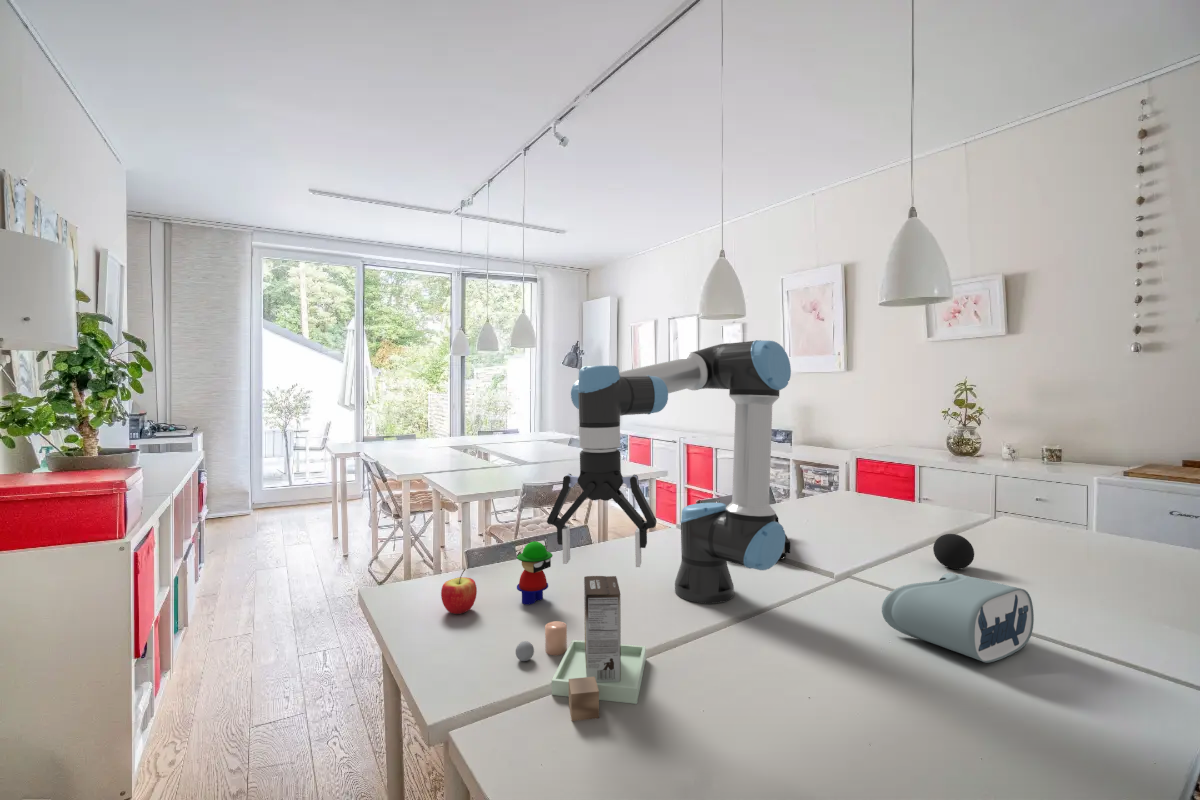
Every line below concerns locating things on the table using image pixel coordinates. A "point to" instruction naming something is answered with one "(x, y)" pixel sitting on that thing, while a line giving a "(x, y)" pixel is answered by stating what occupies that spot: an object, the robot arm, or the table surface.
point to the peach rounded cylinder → (556, 638)
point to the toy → (533, 572)
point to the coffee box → (602, 628)
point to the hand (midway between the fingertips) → (602, 563)
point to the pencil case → (963, 615)
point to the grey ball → (524, 651)
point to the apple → (459, 594)
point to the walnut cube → (583, 698)
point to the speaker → (953, 551)
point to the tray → (608, 691)
